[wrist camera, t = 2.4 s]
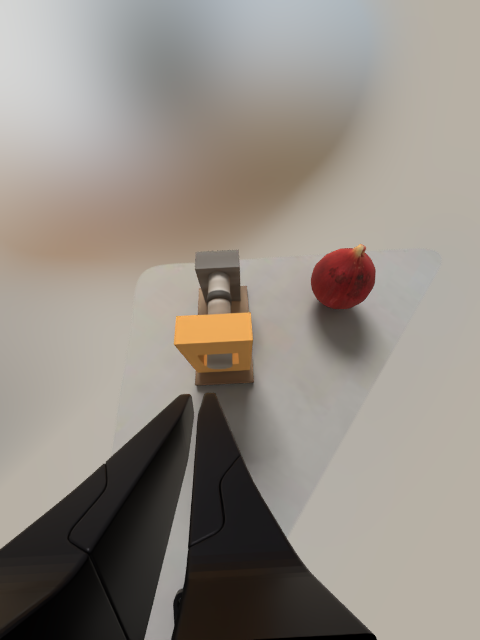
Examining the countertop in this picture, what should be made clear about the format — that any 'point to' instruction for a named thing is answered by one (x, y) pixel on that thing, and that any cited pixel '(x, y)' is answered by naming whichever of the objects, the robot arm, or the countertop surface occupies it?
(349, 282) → the onion
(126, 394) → the countertop surface
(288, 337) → the countertop surface
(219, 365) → the pipe stand
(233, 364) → the collar
